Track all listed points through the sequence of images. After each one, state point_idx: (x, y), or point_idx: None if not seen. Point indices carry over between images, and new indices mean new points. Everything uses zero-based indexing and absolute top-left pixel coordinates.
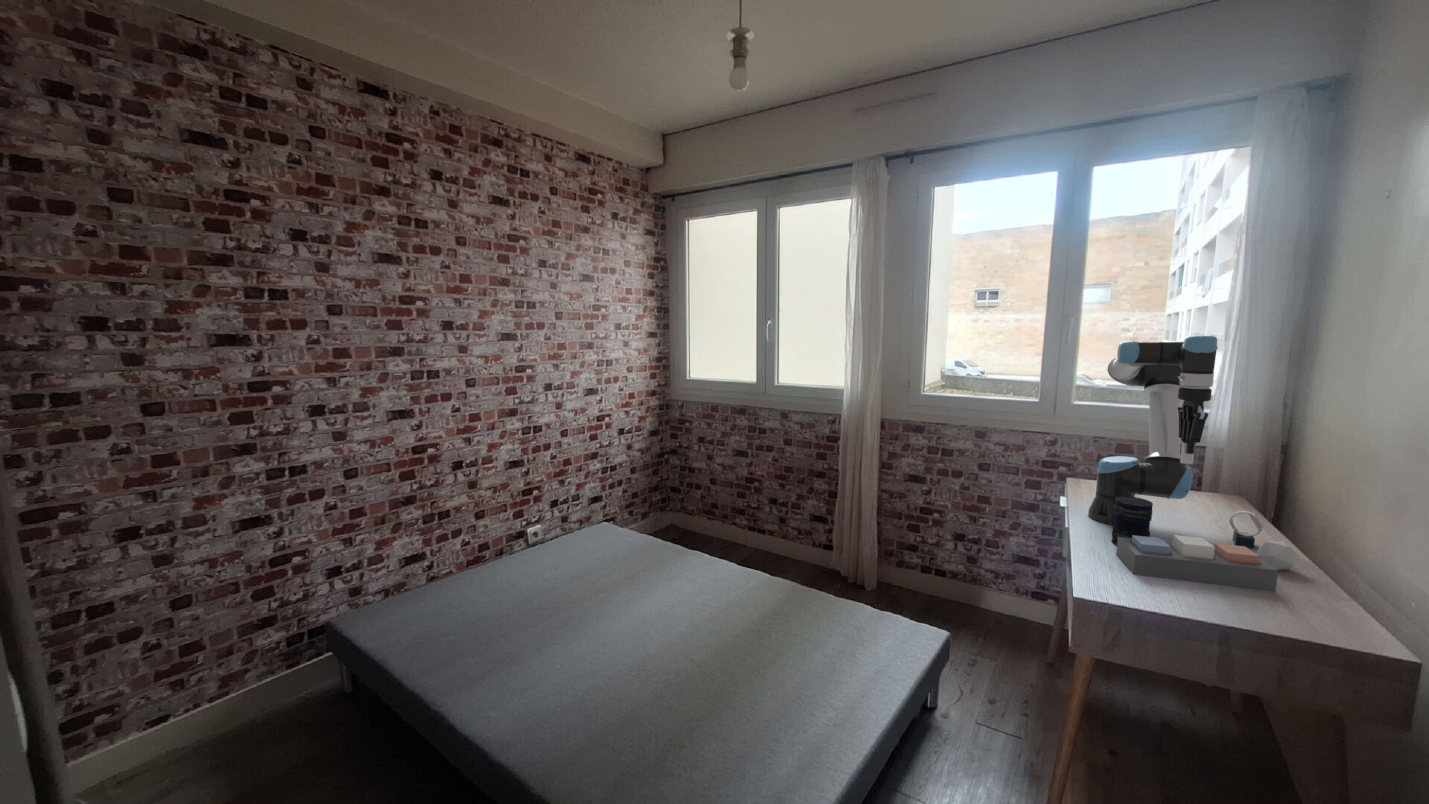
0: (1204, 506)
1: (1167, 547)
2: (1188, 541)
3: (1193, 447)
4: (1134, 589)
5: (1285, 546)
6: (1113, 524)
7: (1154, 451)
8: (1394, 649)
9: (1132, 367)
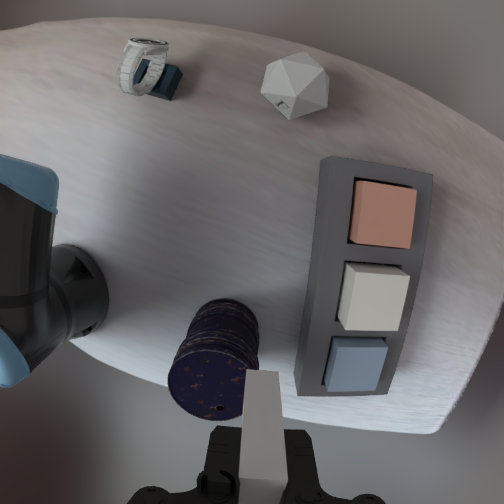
0: None
1: (386, 351)
2: (383, 316)
3: (313, 469)
4: (421, 385)
5: (320, 74)
6: (107, 307)
7: None
8: None
9: None
